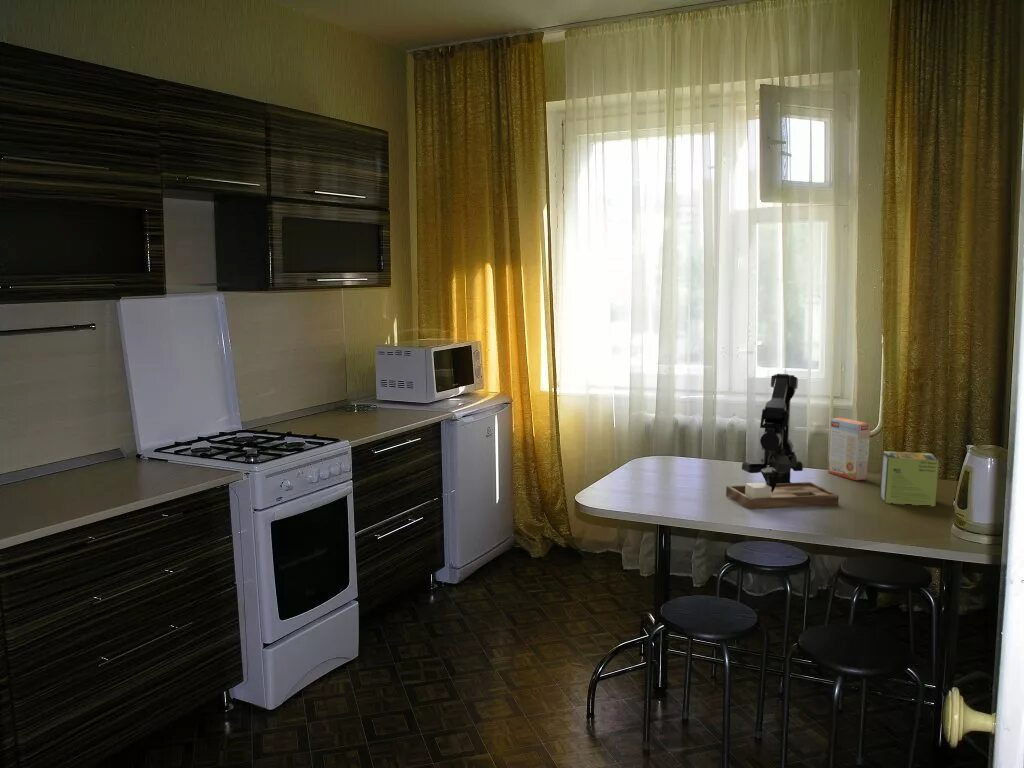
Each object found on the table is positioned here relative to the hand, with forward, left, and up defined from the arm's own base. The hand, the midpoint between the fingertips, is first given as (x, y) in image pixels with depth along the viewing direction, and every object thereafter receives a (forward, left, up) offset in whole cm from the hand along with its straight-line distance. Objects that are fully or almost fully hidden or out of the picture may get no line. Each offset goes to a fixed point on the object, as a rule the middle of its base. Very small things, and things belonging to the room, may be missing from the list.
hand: (771, 491), depth 278 cm
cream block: (0, -5, -2) cm, 5 cm away
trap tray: (-4, +6, -4) cm, 8 cm away
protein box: (+4, +47, -4) cm, 47 cm away
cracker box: (-30, +47, -4) cm, 56 cm away
